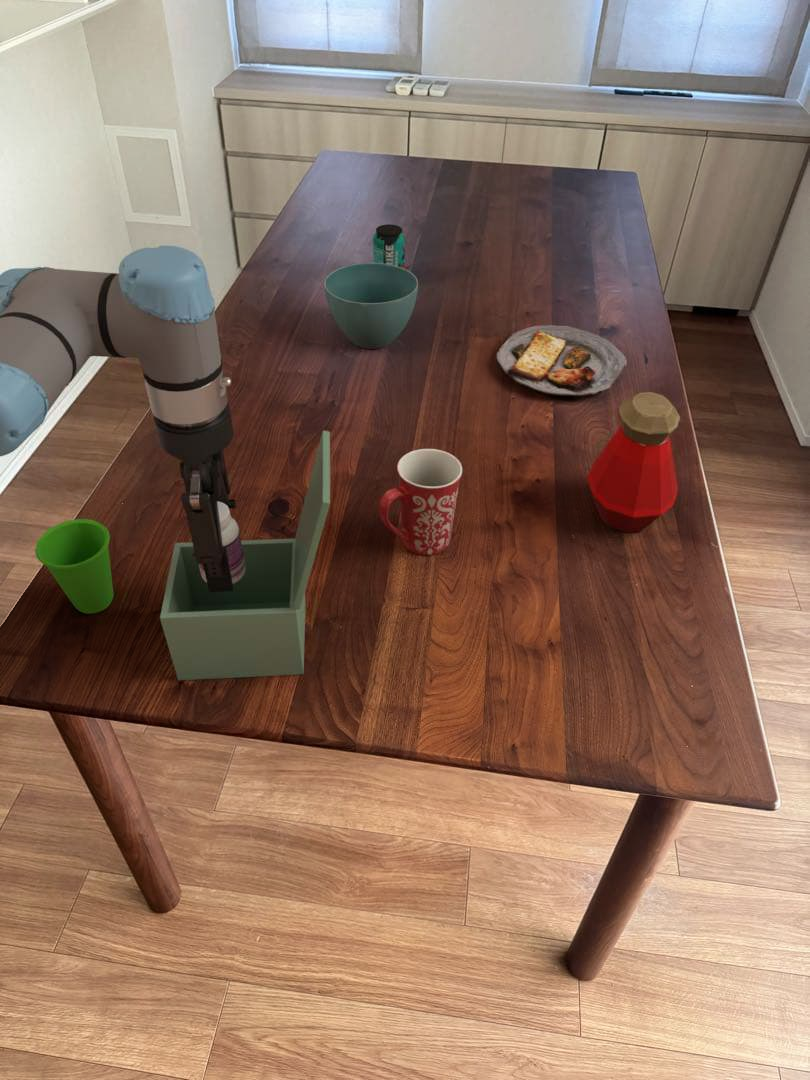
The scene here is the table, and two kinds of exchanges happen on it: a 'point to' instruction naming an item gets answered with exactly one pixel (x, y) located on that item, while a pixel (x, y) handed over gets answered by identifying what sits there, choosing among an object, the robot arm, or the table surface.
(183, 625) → the chest
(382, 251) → the beverage can
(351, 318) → the plant pot
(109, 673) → the table surface
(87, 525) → the cup
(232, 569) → the pill bottle
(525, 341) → the food plate
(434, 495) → the mug
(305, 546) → the lid
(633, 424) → the bottle
